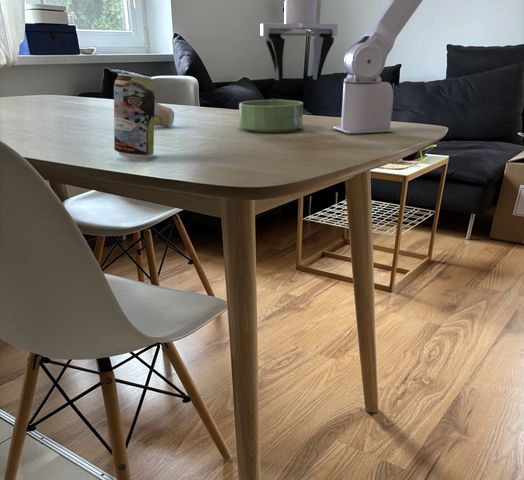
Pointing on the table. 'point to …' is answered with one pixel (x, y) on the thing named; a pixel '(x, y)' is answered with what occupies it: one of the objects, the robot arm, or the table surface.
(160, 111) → the mug
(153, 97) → the tall printed two-tone box
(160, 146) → the table surface
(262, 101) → the bowl
